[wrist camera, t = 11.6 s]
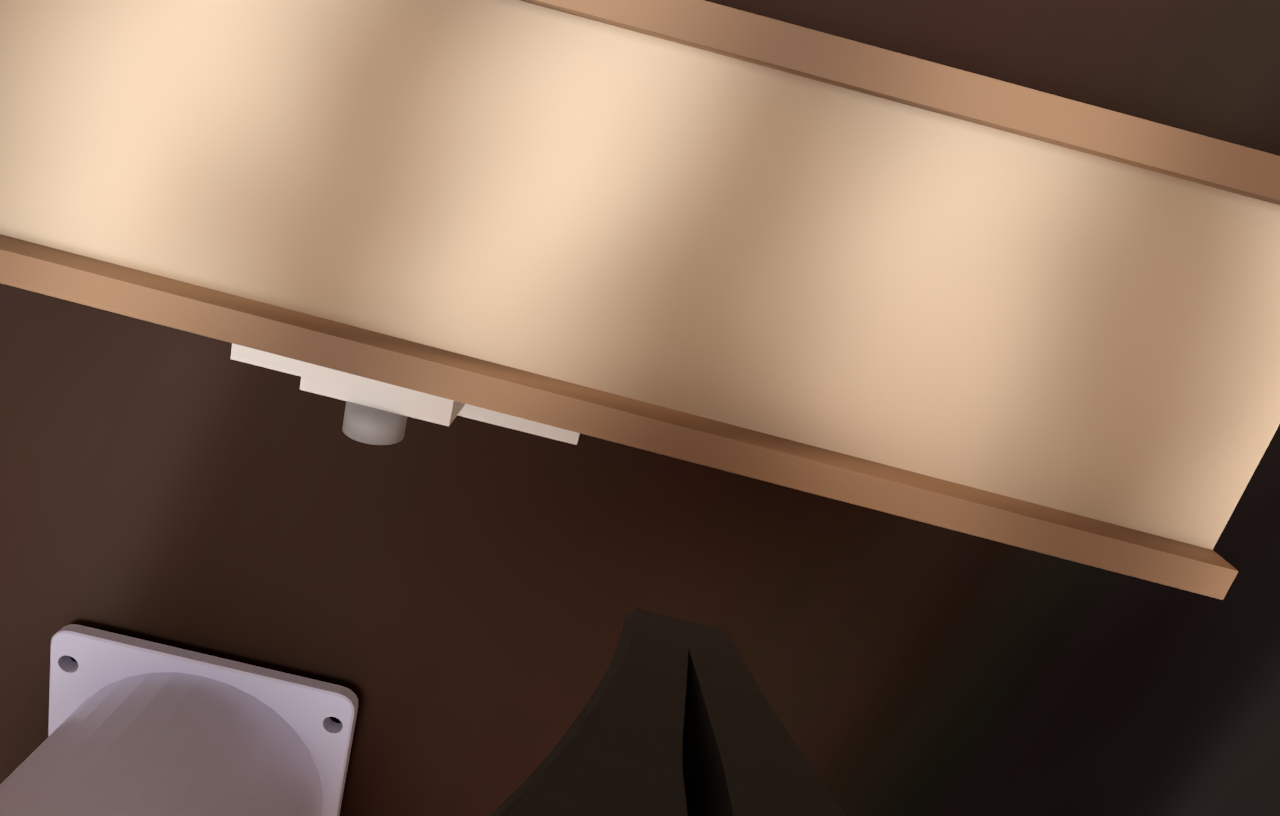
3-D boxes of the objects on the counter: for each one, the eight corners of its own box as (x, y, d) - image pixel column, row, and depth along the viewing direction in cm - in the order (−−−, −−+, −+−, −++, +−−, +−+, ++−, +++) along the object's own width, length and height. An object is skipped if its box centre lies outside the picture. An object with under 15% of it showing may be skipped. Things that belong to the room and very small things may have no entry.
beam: (1351, 191, 15) (1442, 200, 13) (1167, 549, 17) (1222, 600, 15) (-488, -306, 14) (-661, -370, 12) (-421, 136, 16) (-559, 138, 15)
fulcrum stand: (580, 432, 20) (561, 495, 17) (247, 349, 20) (159, 397, 16) (705, -75, 17) (712, -124, 13) (302, -186, 16) (205, -267, 13)
